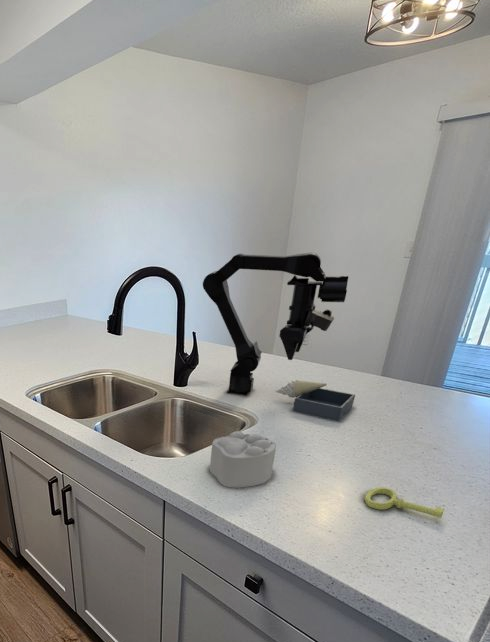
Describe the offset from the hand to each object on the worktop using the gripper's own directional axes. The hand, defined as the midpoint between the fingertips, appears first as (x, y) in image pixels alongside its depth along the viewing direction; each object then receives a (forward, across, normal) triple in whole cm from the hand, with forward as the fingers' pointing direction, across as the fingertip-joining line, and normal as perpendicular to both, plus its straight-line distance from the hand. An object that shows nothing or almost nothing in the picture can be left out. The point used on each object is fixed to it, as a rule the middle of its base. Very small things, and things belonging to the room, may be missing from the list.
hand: (293, 355), depth 129 cm
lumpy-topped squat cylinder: (+13, -52, -2) cm, 54 cm away
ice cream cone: (+6, -5, -11) cm, 13 cm away
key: (+13, -50, -31) cm, 60 cm away
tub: (+13, -6, -11) cm, 18 cm away
